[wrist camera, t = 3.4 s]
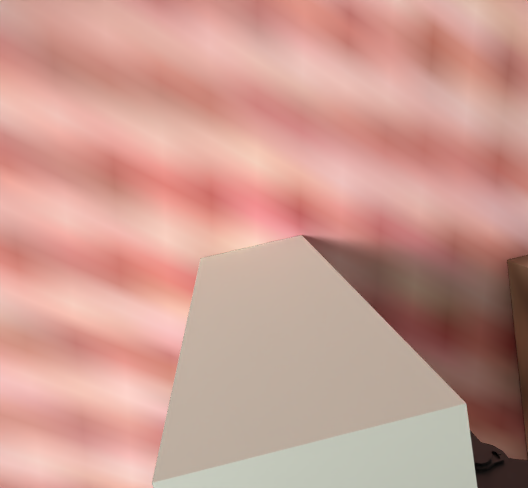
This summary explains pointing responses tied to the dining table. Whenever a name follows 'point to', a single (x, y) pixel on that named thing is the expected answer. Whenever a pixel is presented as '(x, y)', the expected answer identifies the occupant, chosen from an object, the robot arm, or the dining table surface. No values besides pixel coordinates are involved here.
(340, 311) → the cream rectangular block
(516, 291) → the wooden rack
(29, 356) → the dining table surface
